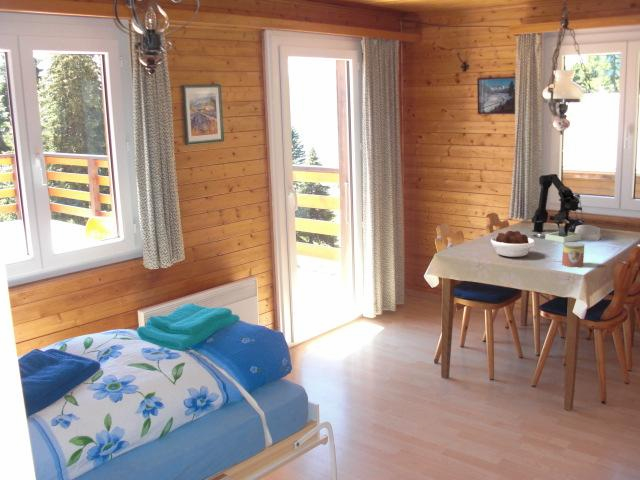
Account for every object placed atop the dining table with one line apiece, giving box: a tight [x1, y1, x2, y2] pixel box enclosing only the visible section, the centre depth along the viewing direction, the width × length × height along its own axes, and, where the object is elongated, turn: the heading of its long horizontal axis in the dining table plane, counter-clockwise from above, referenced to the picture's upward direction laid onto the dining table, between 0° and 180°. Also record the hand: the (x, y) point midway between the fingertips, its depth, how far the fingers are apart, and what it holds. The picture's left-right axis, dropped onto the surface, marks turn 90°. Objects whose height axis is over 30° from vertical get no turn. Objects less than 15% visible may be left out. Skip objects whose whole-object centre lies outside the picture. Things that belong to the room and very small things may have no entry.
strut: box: [558, 222, 569, 237], centre depth 468 cm, size 4×4×8 cm
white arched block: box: [573, 224, 601, 241], centre depth 474 cm, size 17×5×10 cm, turn 58°
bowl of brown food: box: [490, 230, 536, 258], centre depth 426 cm, size 25×25×15 cm
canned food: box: [561, 241, 585, 268], centre depth 402 cm, size 11×11×12 cm
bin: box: [544, 231, 582, 244], centre depth 469 cm, size 18×14×4 cm
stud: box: [530, 232, 546, 239], centre depth 480 cm, size 9×9×2 cm
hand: (563, 232), depth 468 cm, fingers closed on strut, 4 cm apart
